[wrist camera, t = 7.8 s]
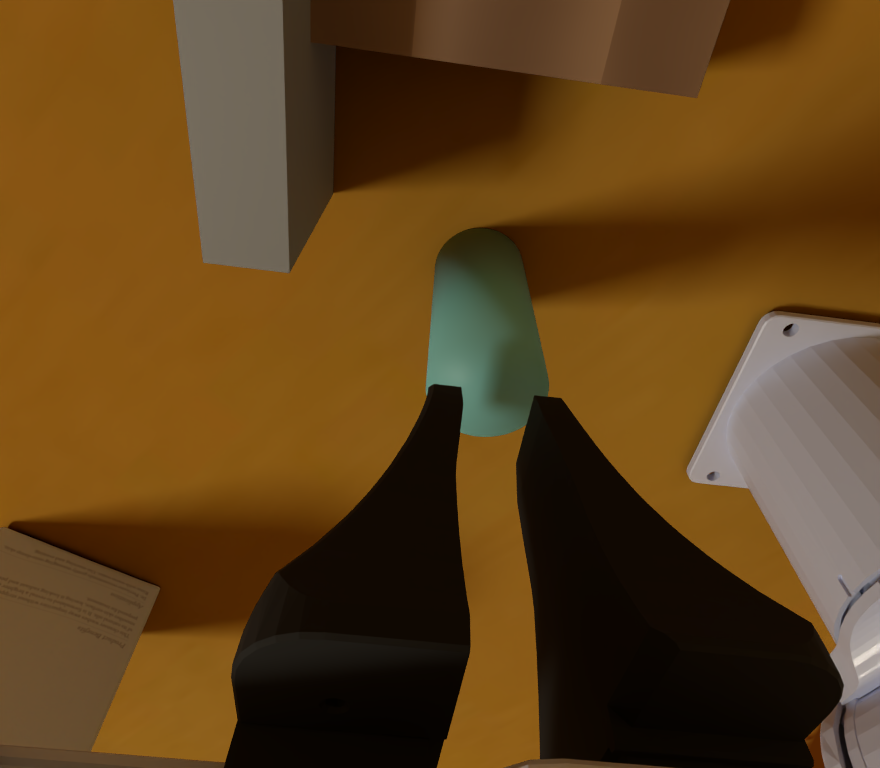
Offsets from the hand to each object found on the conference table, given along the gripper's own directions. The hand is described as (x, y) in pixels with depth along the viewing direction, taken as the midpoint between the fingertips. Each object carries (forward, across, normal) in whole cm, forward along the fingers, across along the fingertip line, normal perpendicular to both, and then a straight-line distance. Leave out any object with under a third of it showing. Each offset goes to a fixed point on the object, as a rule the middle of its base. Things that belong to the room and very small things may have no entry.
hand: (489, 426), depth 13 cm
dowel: (+8, 0, 0) cm, 8 cm away
